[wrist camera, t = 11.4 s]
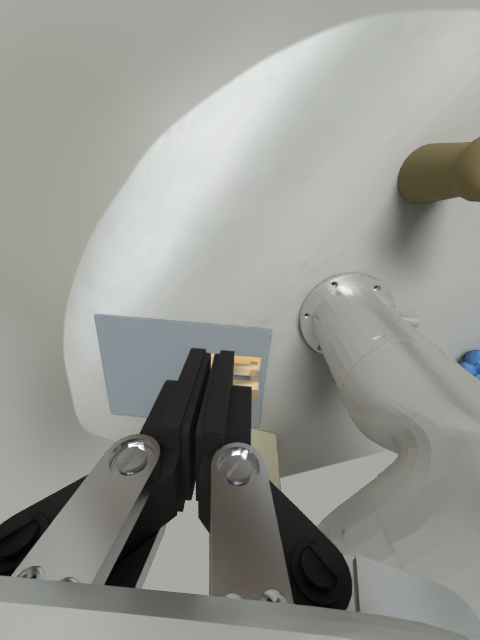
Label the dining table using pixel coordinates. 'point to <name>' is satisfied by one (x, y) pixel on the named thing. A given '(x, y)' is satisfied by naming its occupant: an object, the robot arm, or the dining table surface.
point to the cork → (441, 173)
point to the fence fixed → (248, 371)
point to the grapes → (472, 363)
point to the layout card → (168, 356)
